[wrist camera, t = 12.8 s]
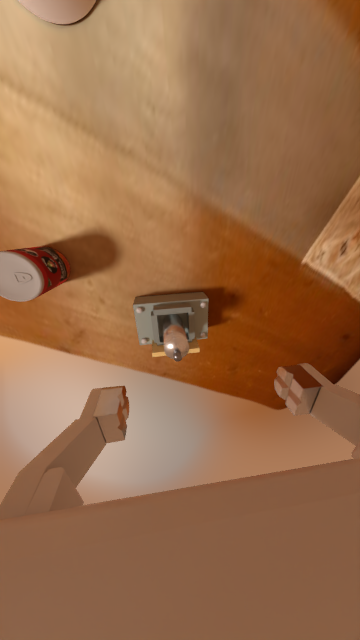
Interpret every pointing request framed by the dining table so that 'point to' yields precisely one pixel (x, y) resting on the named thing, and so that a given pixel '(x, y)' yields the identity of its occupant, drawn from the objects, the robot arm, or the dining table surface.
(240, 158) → the dining table surface
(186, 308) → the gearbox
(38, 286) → the canned food
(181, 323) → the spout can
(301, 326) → the dining table surface
